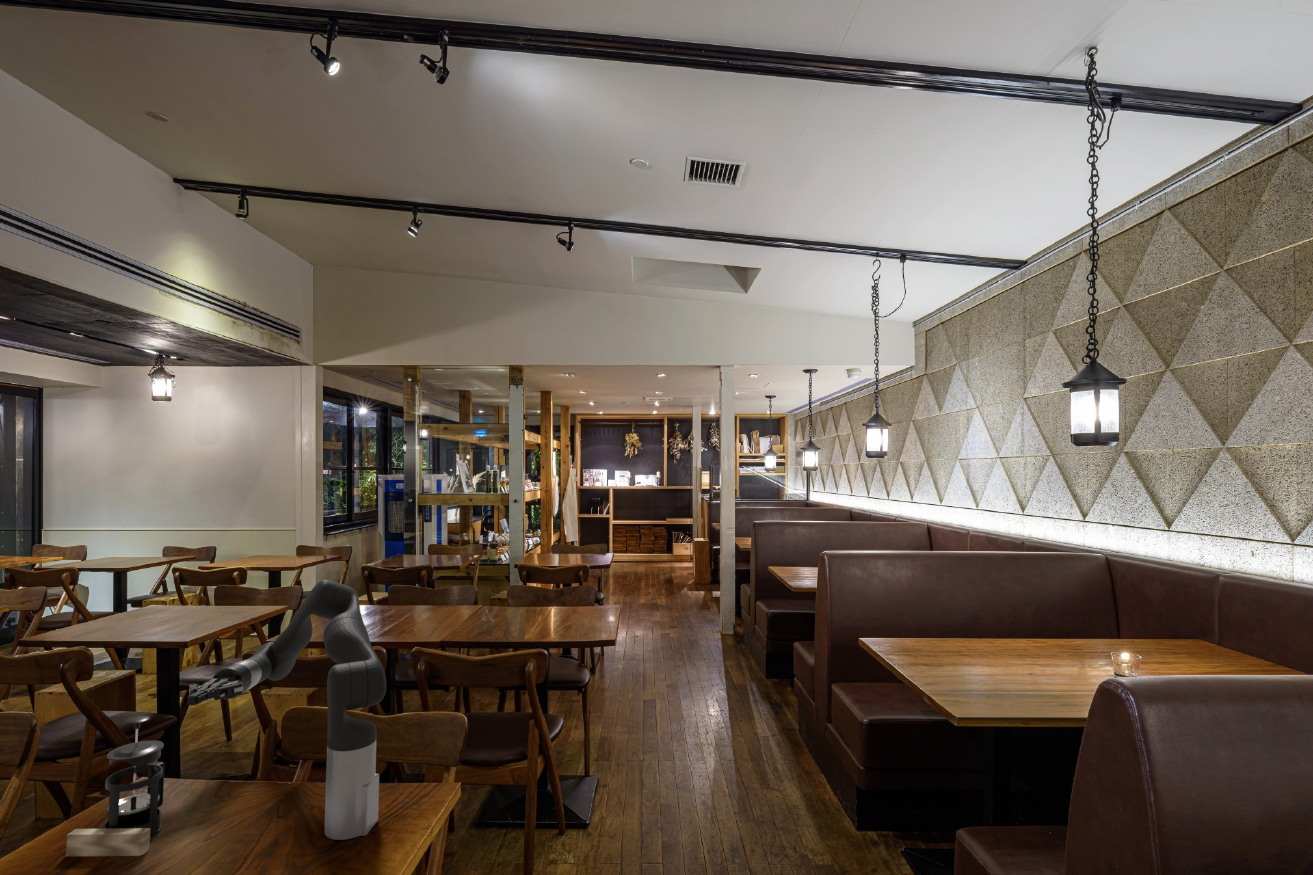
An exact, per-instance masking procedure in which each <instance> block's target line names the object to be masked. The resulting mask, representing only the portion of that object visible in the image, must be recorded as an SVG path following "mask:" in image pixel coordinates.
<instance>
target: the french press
mask: <svg viewBox="0 0 1313 875" xmlns="http://www.w3.org/2000/svg"><path fill="white" fill-rule="evenodd" d="M150 720H151V717H150V716H149V715H139V716H135V717H130V718H128V719H126V720H125V721H124V722H123V724H124V725H128V726H129V725H131V726H133V729H134V730H135V739H134V740H135V742H131V743H127V744H123V745H121V746H118V747H116V748H114V749H112V750H110V751H109V752H108V753H107V755H106V759H107V760H109V765H108V766H111V765H112V764H113V763H115V762H124V763H127V764H129V765H130V767H128V768H125V769H121V770H118V771H117V772H114V773H112V774H111V775H109V776H108V777H107V778H106V779H105V790H106V791H109V794H108V795H109V797H108V799H109V800H108V806H107V807H106V809H105V811H106V813H107V815H108V817H107V818H108V820H107V821H105V823H104V824H103V829H123V828H150V840H151V839H154V838H155V837H156V836H158V834H159V833H160V832H161V831H162V824H161V818H162V817H161V815H162V811H161V809H160V807H161V806H163V804H164V790H165V789H164V788H165V787H164V786H165V785H164V784H165V783H164V782H165V762H163V761H157V760H158V759H160V757H161V754H162V753H161V750H162V749H163V748H164V745H165V744H164V742H163V741H160V740H141V741H138V738H139V737H138V736H139V735H138V734H139V729H140V728H141V724H144V723H146V722H147V721H150ZM151 763H152V764H151ZM143 772H148V773H147V775H148V776H147V778H146V779H143V780H140V781H136V780H137V773H143ZM132 774H133V780H132V781H133V782H131V783H127V784H126V783H125V784H124V783H123V784H119V779H120V778H123V777H125V776H128V775H132ZM145 787H147V792H142V793H141V792H140V793H137V794H136V791H137V790H139V789H142V788H145ZM130 791H132V795H127V796H124V797H122V798H120V796H121V795H120V793H123V792H130Z"/></svg>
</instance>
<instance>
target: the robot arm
mask: <svg viewBox="0 0 1313 875" xmlns="http://www.w3.org/2000/svg"><path fill="white" fill-rule="evenodd" d="M312 615H313V616H315V617H319V618H322V619H325V620H329V622H328V623H327V624H326V626H325V628H324V630H323V634H322V635H323V636H322V638H323V639H322V640H323V645H324V649H325V651H326V655H327V656H328V657H329V659H330V660H332V662H334V663H336V664H334V665H333V666H332V667H330V670H329V671H328V674H327V680H326V685H327V686H326V696H327V739H326V740H327V741H326V767H325V768H326V769H325V770H326V774H325V801H324V802H325V803H324V804H325V805H324V808H325V809H324V835H325V836H326V837H327V838H328V839H331V840H337V841H340V840H341V841H344V840H350V839H354V838H357V837H361V836H362V837H363V836H368V834H369V833H370V832H371V831H372V828H374V826H375V825H376V824H377V822H378V820H379V796H380V795H379V794H380V774H379V773H376V768H377V766H376V764H377V732H378V731H377V726H376V724H375V723H374V722H373V721H370V720H367V719H362V718H361V719H360V718H355V717H352V716H350V715H348V714H346V712H348V711H352V710H357V709H364V708H369V707H373V706H375V705H378V704H379V703H381V702H382V700H384V697H385V695H386V693H387V692H386V691H387V678H386V672H385V669H384V667H383V663H381V660H380V659H379V657H378V655H377V654H376V652H375V650H374V649H373V647H372V642H371V640H370V636H369V633H368V630H367V627H366V624H365V622H364V620H363V617H362V613H361V609H360V598H359V594H358V592H357V590H356V589H355V588H353V587H351V586H349V585H346V584H343V583H339V582H337V581H334V580H330V579H322V580H320V581H319V582H317V583H316V584H315V585H314V586H313V587H312V589H311V590H310V591H309V593H308V595H307V596H306V597H305V599H304V601H303V602H302V603H301V606H299V608H298V610H297V612H296V613H295V615H294V616H293V618H292V620H291V621H290V623H289V624H288V625H287V627H285V629H284V630H283V631H282V632H281V633H280V634H279V635H278V636H277V637H276V639H275V640H274V641H269V642H266V643H264V644H262V645H261V646H260V647H258V649H257V650H256V651H255V652H254V653H253V655H251V657H249V658H247V659H244V660H240V661H237V662H235V663H233V664H230V665H228V666H226V667H224V668H221V669H220V670H218V671H217V672H216V673H215V674H214V675H213V677H212V679H210V680H208V681H206V682H203V683H202V685H199V684H196V683H191V684H189V686H188V687H189V689H188V692H189V693H188V696H187V706H189V707H190V706H195V707H196V706H197V705H200V704H201V703H204V702H209V701H211V700H213V701H219V700H230V699H234V698H235V697H237V696H240V695H242V694H243V693H245V692H247V691H248V690H250V689H252V688H253V687H254V686H256V685H258V684H260V683H261V682H263V681H265V680H267V679H268V680H270V681H275V682H276V681H281V680H282V679H284V678H286V677H287V676H289V674H290V673H291V671H292V670H293V668H294V666H295V665H296V662H297V659H298V656H299V654H300V653H301V651H303V649H305V648H306V646H308V644H309V643H310V641H311V640H312V638H313V631H314V630H313V622H312Z"/></svg>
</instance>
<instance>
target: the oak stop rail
mask: <svg viewBox="0 0 1313 875" xmlns="http://www.w3.org/2000/svg"><path fill="white" fill-rule="evenodd" d="M150 844H151V839H150V828H135V827H130V828H123V829H104V828H75V829H74V830H72V831H70V832H69V833H67V834H66V845H65V846H66V847H65V850H66V851H65V857H120V856H121V857H132V856H133V857H137V856H138V857H141V855H142V856H143V855H145V854H146V853H147V852H149V851H150V847H151V845H150Z"/></svg>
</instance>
